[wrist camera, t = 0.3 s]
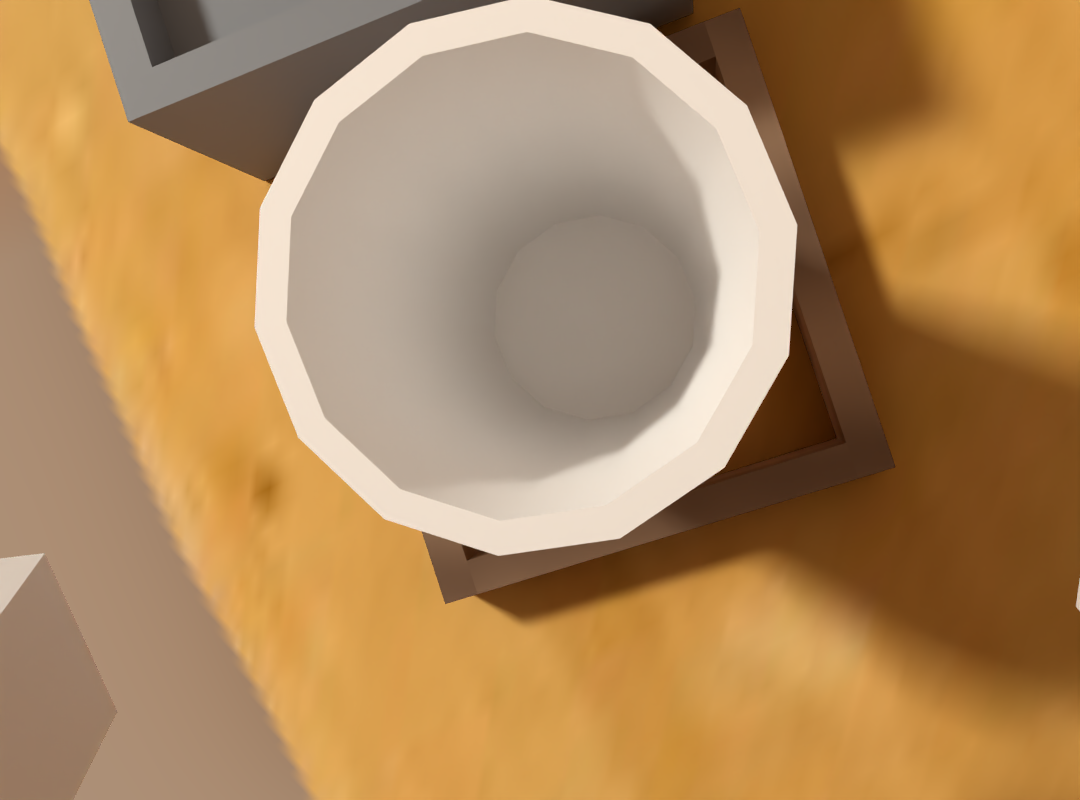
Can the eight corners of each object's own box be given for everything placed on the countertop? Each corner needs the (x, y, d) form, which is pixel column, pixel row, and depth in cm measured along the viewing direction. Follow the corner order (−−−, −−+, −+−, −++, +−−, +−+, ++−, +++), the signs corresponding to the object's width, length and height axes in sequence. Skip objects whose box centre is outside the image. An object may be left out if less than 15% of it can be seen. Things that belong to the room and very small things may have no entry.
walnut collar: (882, 460, 29) (895, 467, 27) (462, 589, 31) (445, 603, 29) (737, 32, 29) (739, 7, 27) (331, 188, 31) (306, 176, 29)
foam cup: (398, 235, 31) (179, 136, 18) (679, 107, 29) (660, -101, 16) (514, 523, 30) (376, 632, 18) (805, 407, 29) (886, 436, 16)
